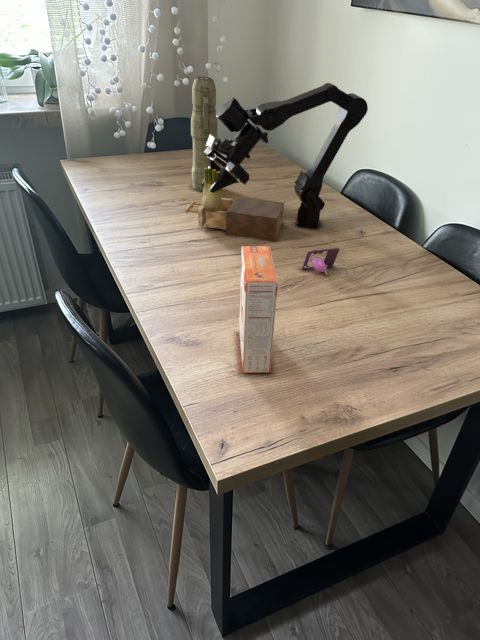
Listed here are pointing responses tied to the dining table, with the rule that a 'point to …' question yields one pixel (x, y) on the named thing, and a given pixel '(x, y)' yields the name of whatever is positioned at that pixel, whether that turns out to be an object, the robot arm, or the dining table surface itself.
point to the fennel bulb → (210, 199)
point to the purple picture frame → (321, 263)
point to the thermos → (202, 126)
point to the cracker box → (257, 308)
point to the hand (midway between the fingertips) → (206, 188)
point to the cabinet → (254, 218)
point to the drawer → (211, 214)
